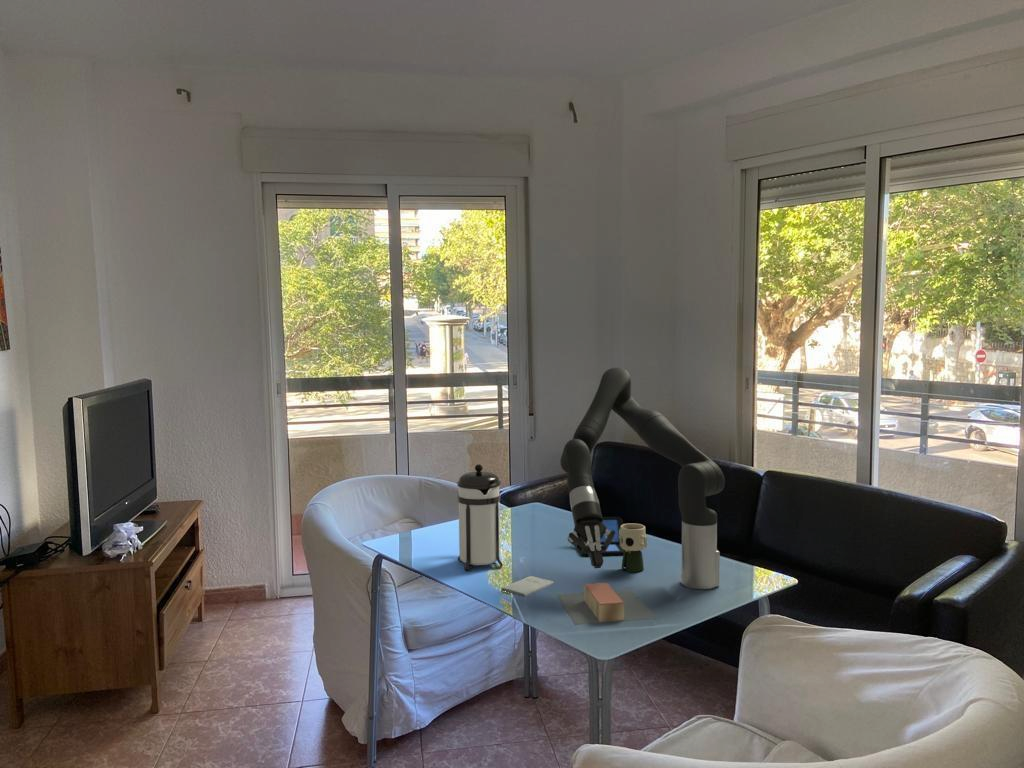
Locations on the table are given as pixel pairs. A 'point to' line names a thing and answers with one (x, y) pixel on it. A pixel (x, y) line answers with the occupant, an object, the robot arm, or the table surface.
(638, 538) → the character mug
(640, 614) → the slate mat
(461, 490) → the coffee press
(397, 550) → the table surface
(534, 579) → the external hard drive
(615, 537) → the game console
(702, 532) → the robot arm
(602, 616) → the oak block
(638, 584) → the table surface
